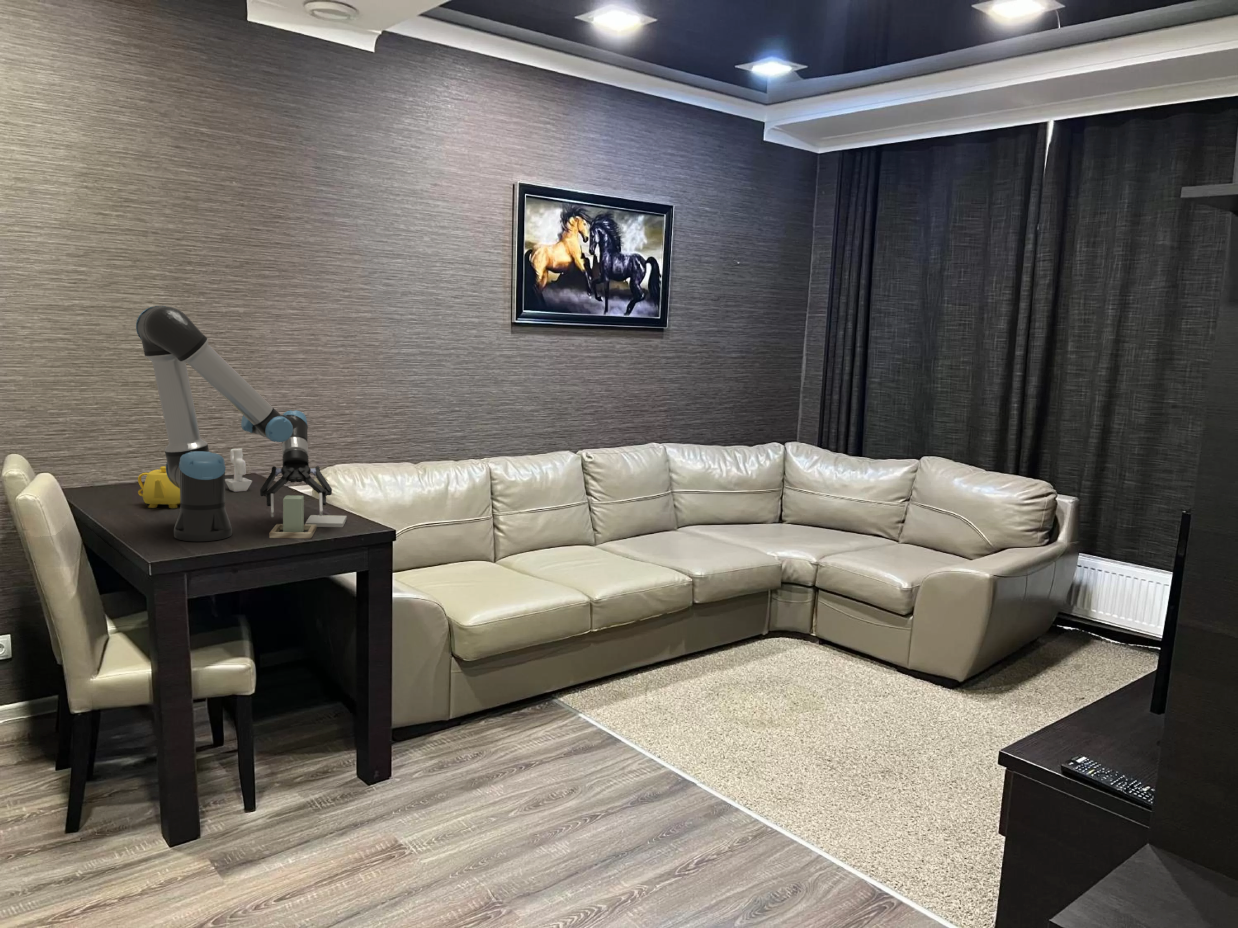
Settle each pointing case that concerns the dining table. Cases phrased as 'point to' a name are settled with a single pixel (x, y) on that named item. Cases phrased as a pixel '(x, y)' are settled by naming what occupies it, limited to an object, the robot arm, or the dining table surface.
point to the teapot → (159, 489)
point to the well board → (278, 527)
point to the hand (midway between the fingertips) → (297, 514)
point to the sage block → (293, 513)
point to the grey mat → (327, 520)
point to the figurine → (238, 472)
